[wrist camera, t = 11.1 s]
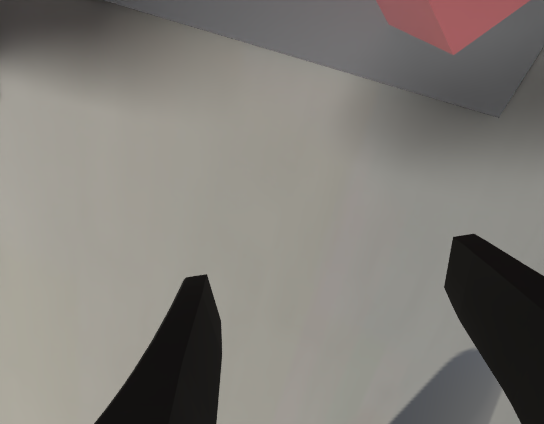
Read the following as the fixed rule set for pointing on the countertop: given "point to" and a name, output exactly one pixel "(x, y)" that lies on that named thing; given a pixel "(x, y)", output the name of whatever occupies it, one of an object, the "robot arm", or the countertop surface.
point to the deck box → (447, 19)
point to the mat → (374, 44)
